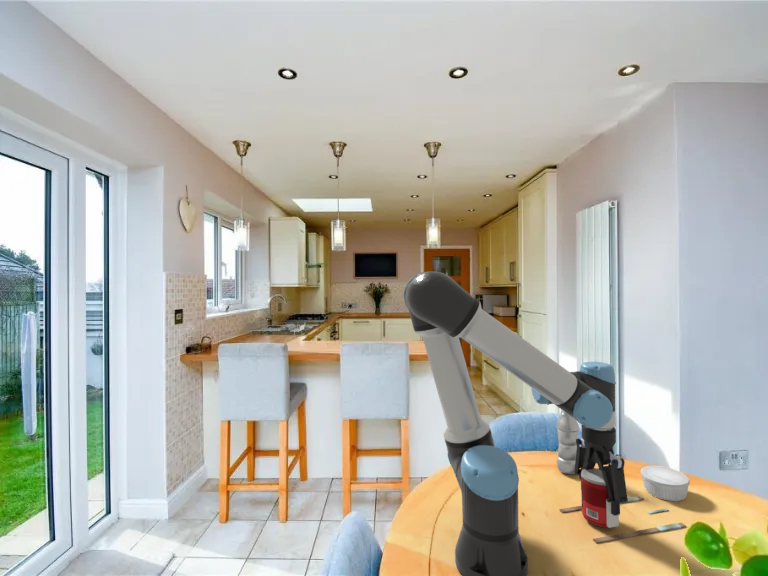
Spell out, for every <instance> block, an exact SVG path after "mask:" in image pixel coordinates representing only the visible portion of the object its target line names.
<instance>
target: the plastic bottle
mask: <svg viewBox="0 0 768 576" xmlns="http://www.w3.org/2000/svg"><path fill="white" fill-rule="evenodd" d="M560 415H561V416H560V417H559V419H558V420H557V422H556V429H557V430H556V431H557V436H558V453H557V457H556V466H557V469H558V470H559V472H561V473H563V474H566V475H576V474H575V461H576V451H577V445H576V439H579V438H578V436H579V431H580V430H579V429H580V426H579V422H578V421H576V420H575V419H574V418H573V417H571V416H570V415H569V414H567V413H566V412H564V411H563V410H562V409H560Z"/></svg>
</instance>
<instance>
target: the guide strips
mask: <svg viewBox="0 0 768 576" xmlns="http://www.w3.org/2000/svg"><path fill="white" fill-rule="evenodd" d="M627 498H628V502H624V503H623V504H627V503H633V502H638V501H643V499H644V498H643V497H642V496H631V497H627ZM621 504H622V503H620V505H621ZM667 510H669V511H670V509H669V508H662V509H657V510H650V511H647V514H648V515H651V514H658V513H664V512H668V511H667ZM559 511H560V513H562V514H564V513H565V514H566V513H570V512H577V511H582V505H577V506H576V505H575V506H571V507H564V508H559ZM663 511H664V512H663ZM657 512H658V513H657ZM682 528H687V525H686V524H684V523H683V522H678V523H677V522H676V523H669V524H665V525H659V526H655V527H651V528H650V527H649V528H644V529H639V530H635V531H633V530H632V531H629V532H623V533H618V534H611V535H608V536H607V535H606V536H602V537H596V538H592V541H594V543H595V544H601V543H607V542H610V541H611V542H613V541H616V540H623V539H628V538H633V537H639V536H644V535H650V534H655V533H660V532H665V531H672V530H676V529H682Z"/></svg>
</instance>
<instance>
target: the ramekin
mask: <svg viewBox="0 0 768 576" xmlns="http://www.w3.org/2000/svg"><path fill="white" fill-rule="evenodd" d="M640 475H641V477H642V482H643V487H644V488H645V491H646V492H647V493H648V492H649V493H648V494H650V495H651V494H652V495H651V496H653V495H654V496H653V497H655V496H656V497H655V498H657V497H658V498H657V499H660V498H661V499H660V500H663V499H665V500H664V501H667V500H670V501H669V502H682V501H683V500H685V499H686V498H687V496H688V491H689V485H690V481H691V480H690V478H689V477H688V476H687V475H686V474H685V473H683V472H682V471H679V470H677V469H674V468H670V467H667V466H663V465H647V466H643V467H642V468H641V469H640ZM681 500H682V501H681Z"/></svg>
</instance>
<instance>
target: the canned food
mask: <svg viewBox="0 0 768 576" xmlns="http://www.w3.org/2000/svg"><path fill="white" fill-rule="evenodd" d="M580 491H581V493H580V494H581V506H582V510H581V514H582V517H583V518H584V520H586V521H587V522H589V524H592V525H595V526H598V527H602V528H608V527H607V515H606V499H609V496H608V493H607V489H606V483H605V482H604V478H603V475H602V471H601V470H600V469H599V467H598V468H596V467H594V469H590V470H585V469H584V470H582V472H581V480H580ZM613 496H614V495H613Z"/></svg>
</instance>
